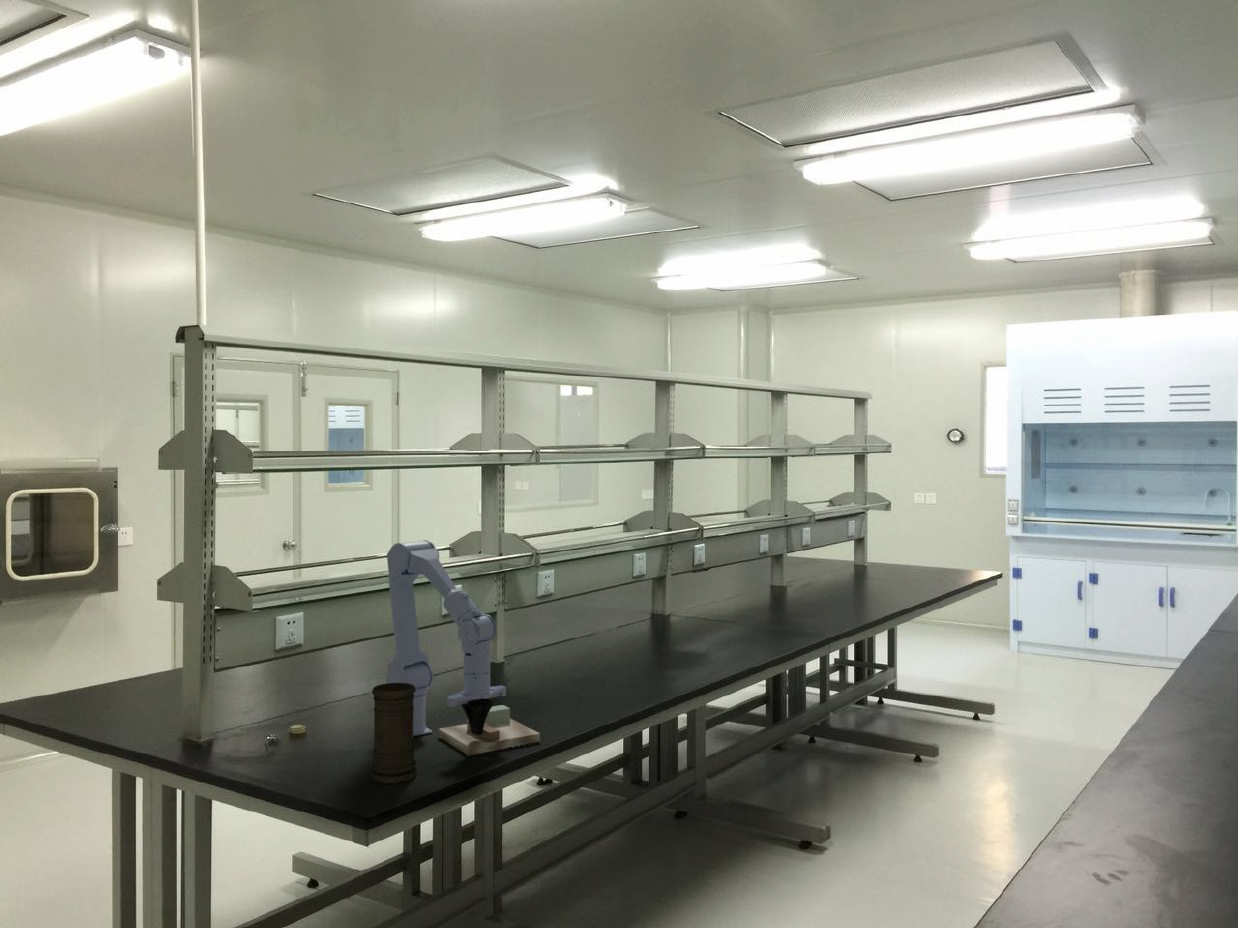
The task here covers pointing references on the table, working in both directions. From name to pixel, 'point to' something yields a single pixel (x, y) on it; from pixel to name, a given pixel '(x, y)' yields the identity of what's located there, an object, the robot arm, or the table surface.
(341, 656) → the table surface
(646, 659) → the table surface
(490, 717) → the block
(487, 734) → the stool leg
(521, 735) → the stool seat
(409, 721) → the container
